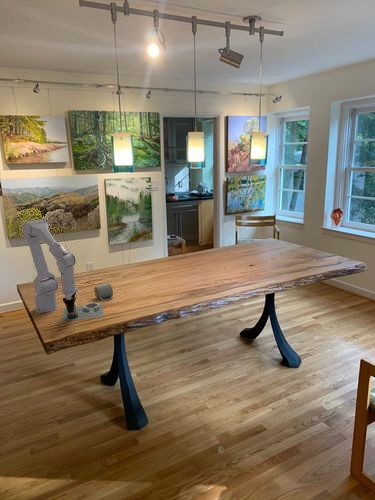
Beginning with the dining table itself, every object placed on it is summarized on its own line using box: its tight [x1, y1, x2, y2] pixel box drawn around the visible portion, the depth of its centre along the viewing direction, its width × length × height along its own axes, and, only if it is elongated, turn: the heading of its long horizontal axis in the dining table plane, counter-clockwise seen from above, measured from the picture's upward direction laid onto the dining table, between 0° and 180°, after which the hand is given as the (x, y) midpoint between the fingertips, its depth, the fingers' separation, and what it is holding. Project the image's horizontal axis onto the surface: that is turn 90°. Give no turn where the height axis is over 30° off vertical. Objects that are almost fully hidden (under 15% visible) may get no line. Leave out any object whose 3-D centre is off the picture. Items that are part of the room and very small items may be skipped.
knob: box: [65, 304, 79, 319], centre depth 172 cm, size 5×4×6 cm
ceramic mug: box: [93, 282, 114, 302], centre depth 196 cm, size 11×8×8 cm
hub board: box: [62, 302, 104, 323], centre depth 178 cm, size 18×16×2 cm
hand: (71, 309), depth 172 cm, fingers open, 7 cm apart
